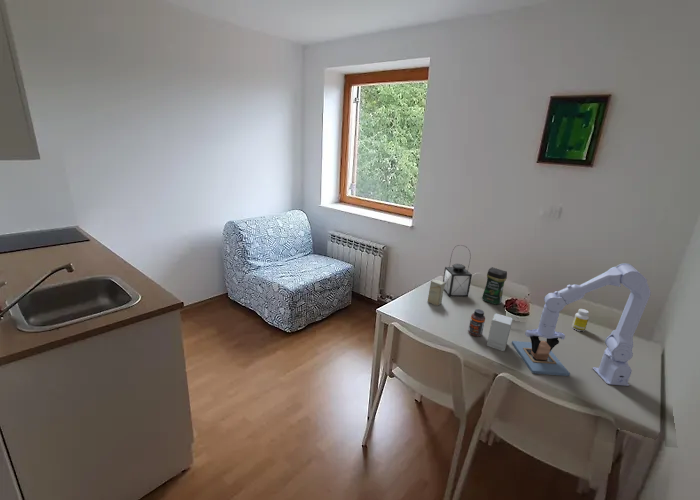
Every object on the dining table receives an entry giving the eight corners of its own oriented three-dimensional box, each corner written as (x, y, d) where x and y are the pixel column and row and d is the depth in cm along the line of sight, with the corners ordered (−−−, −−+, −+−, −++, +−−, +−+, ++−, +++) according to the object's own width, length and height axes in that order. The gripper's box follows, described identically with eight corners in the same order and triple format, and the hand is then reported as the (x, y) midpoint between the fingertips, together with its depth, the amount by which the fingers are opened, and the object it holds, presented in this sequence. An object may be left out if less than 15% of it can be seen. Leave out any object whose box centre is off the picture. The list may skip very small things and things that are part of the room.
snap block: (547, 360, 141) (550, 347, 139) (535, 359, 141) (539, 346, 140) (541, 353, 146) (545, 340, 144) (530, 352, 146) (534, 340, 144)
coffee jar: (479, 300, 192) (486, 268, 186) (485, 295, 198) (491, 264, 192) (497, 306, 186) (504, 273, 180) (503, 301, 192) (510, 270, 186)
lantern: (468, 296, 196) (477, 248, 187) (448, 296, 194) (457, 248, 185) (459, 288, 206) (467, 242, 197) (441, 288, 205) (448, 241, 196)
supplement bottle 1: (466, 334, 158) (471, 311, 155) (469, 328, 163) (473, 306, 160) (480, 338, 156) (485, 315, 152) (482, 332, 161) (487, 310, 157)
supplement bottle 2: (586, 332, 166) (592, 314, 163) (574, 331, 167) (579, 312, 163) (582, 326, 171) (587, 308, 168) (569, 325, 172) (575, 307, 168)
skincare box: (427, 302, 187) (430, 280, 183) (431, 299, 190) (434, 278, 186) (437, 306, 183) (441, 284, 179) (442, 303, 186) (445, 282, 182)
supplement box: (504, 351, 147) (510, 325, 143) (486, 345, 150) (491, 319, 146) (507, 343, 153) (513, 317, 149) (489, 338, 156) (494, 312, 152)
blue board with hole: (569, 376, 134) (570, 372, 134) (531, 373, 134) (532, 369, 134) (544, 345, 153) (545, 342, 153) (511, 343, 153) (512, 340, 153)
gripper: (561, 318, 142) (553, 348, 146) (525, 316, 142) (517, 345, 147) (571, 328, 135) (562, 358, 140) (532, 325, 136) (525, 355, 140)
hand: (540, 352), depth 143 cm, fingers closed on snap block, 4 cm apart
